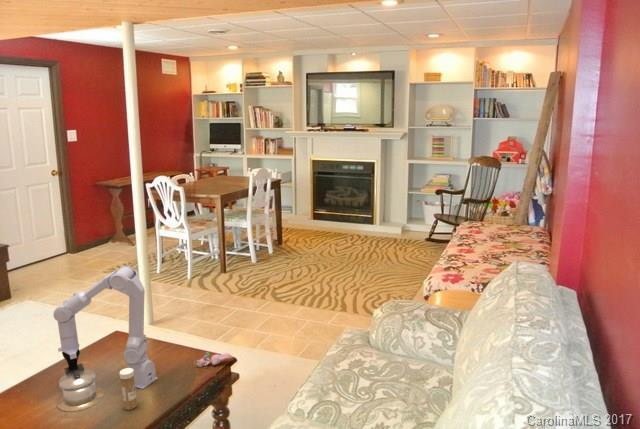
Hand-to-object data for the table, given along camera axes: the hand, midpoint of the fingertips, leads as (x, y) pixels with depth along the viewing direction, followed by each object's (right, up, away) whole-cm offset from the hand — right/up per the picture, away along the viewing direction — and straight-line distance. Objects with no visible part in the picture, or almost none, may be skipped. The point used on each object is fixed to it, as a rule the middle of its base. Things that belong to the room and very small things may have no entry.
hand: (73, 369), depth 187 cm
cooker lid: (+5, -2, -7) cm, 9 cm away
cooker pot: (+7, -8, -9) cm, 14 cm away
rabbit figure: (+49, -2, +13) cm, 51 cm away
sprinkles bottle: (+27, -9, -14) cm, 32 cm away
